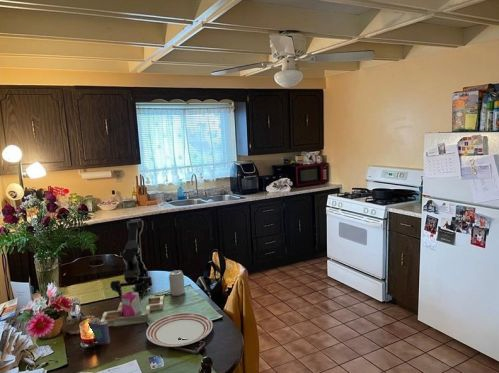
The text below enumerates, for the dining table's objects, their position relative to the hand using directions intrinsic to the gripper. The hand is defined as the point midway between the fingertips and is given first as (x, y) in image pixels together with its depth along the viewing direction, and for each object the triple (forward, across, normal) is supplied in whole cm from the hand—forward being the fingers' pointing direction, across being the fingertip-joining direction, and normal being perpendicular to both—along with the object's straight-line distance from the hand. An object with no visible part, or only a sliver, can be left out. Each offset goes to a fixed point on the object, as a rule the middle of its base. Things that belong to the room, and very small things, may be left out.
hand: (131, 300), depth 175 cm
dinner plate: (+22, +22, -10) cm, 32 cm away
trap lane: (+3, 0, +8) cm, 9 cm away
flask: (+20, -11, -8) cm, 24 cm away
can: (-8, +20, +20) cm, 29 cm away
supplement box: (+7, 0, +4) cm, 8 cm away
